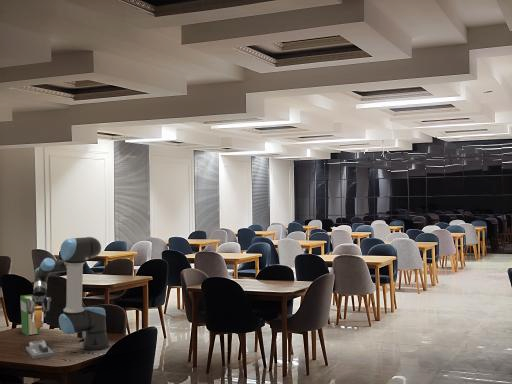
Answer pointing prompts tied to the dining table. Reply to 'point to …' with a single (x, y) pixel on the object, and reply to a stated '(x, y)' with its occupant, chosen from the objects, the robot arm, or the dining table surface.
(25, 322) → the hardback book
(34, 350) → the breaker board
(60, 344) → the dining table surface
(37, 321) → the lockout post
